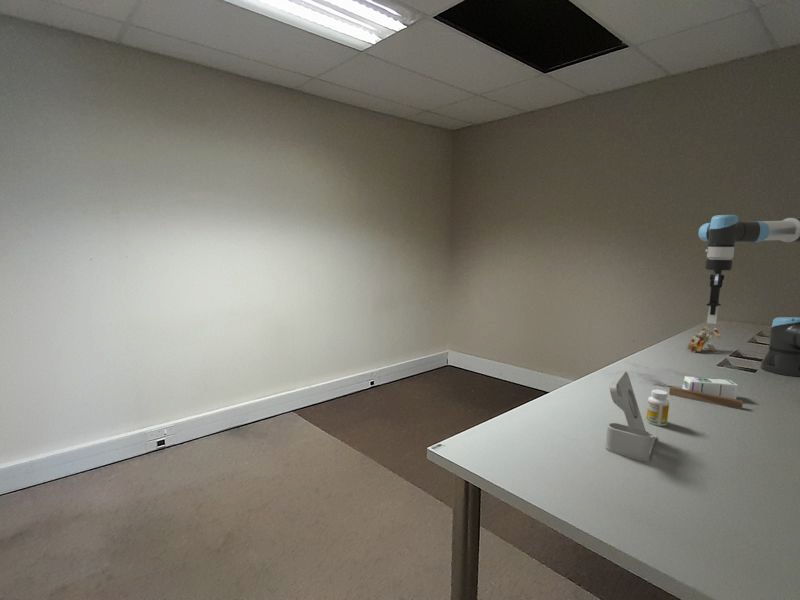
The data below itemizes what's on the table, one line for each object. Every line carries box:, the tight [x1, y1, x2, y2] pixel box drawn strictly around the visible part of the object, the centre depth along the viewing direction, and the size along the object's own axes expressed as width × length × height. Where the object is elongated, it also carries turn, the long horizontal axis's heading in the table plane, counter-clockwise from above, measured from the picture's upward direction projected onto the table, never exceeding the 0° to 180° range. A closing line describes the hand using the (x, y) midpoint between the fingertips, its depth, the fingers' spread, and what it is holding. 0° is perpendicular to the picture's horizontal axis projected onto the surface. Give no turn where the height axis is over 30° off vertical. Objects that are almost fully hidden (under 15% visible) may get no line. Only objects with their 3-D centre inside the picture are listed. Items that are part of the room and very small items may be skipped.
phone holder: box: [604, 371, 657, 462], centre depth 110 cm, size 17×10×18 cm, turn 142°
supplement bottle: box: [645, 389, 670, 427], centre depth 123 cm, size 5×5×10 cm
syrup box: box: [682, 375, 739, 399], centre depth 144 cm, size 6×6×14 cm
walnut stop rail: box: [668, 386, 744, 410], centre depth 140 cm, size 2×20×2 cm, turn 50°
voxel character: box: [686, 325, 722, 354], centre depth 201 cm, size 11×10×15 cm
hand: (711, 323), depth 150 cm, fingers closed
